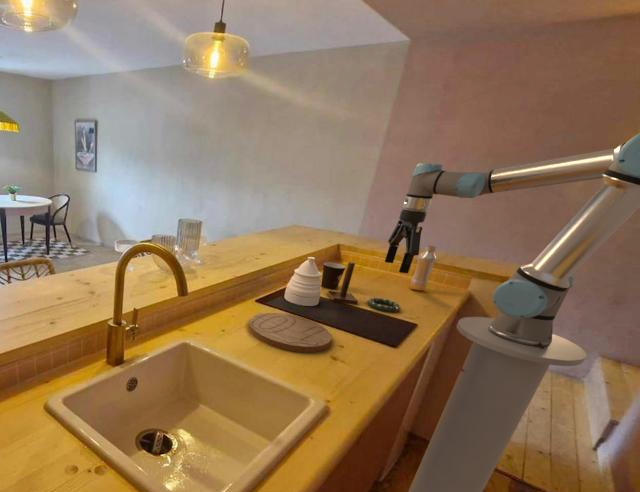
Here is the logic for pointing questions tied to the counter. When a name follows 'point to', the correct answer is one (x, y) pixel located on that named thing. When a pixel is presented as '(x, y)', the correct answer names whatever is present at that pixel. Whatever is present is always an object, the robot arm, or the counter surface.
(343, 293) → the post
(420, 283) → the plastic bottle
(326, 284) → the coffee mug
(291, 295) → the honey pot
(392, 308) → the ring
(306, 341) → the trivet
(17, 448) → the counter surface
